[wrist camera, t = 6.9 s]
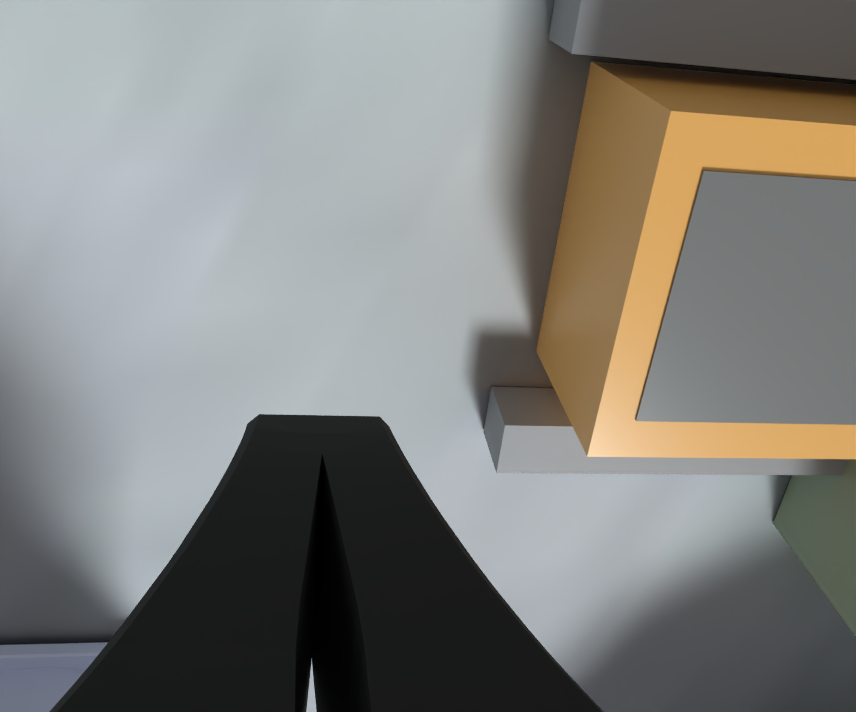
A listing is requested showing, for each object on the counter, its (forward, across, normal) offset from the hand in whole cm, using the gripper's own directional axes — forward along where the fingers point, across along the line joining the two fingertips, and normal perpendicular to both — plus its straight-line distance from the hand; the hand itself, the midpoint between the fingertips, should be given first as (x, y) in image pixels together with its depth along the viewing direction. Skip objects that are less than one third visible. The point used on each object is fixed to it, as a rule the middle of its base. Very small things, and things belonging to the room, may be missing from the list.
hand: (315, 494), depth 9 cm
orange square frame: (+8, -8, 0) cm, 12 cm away
